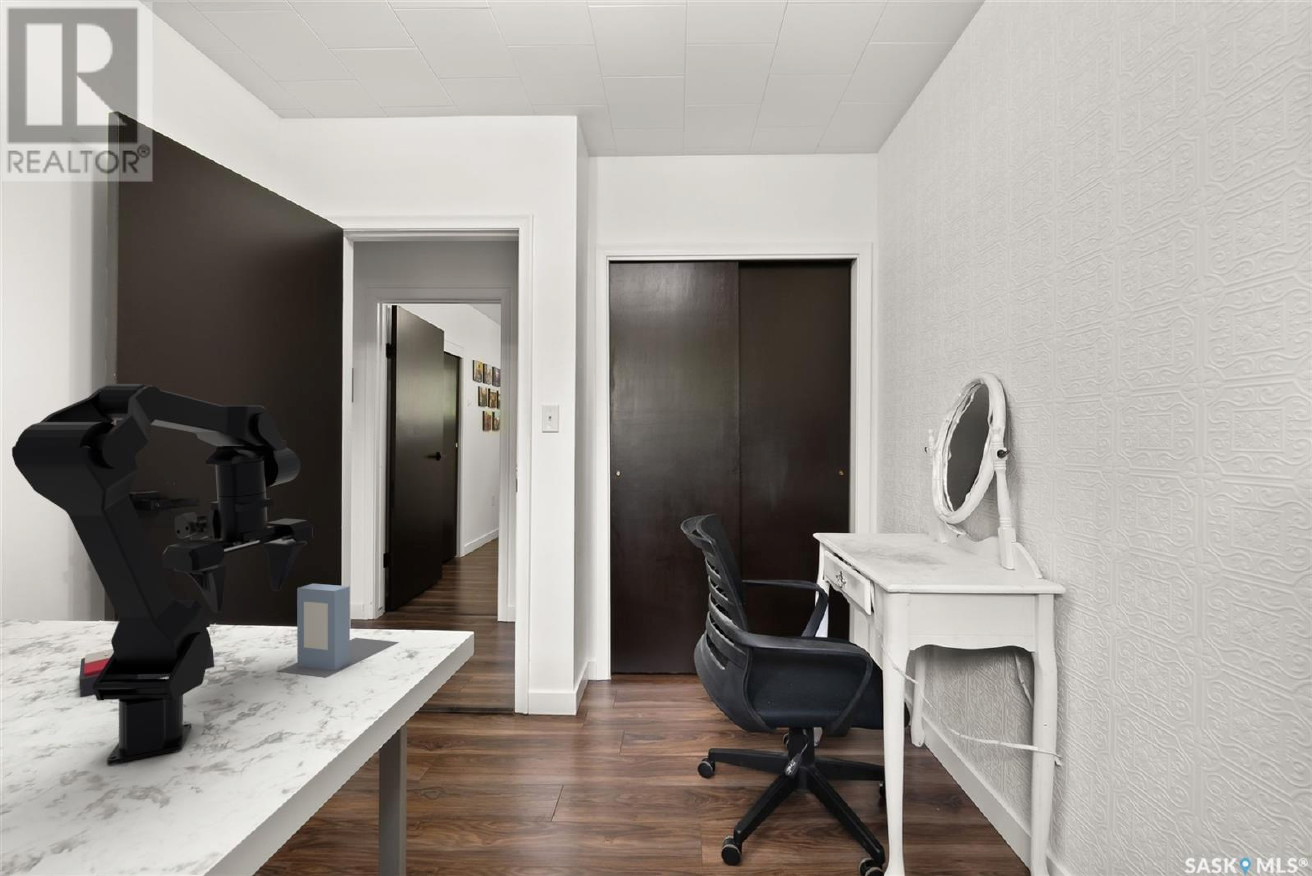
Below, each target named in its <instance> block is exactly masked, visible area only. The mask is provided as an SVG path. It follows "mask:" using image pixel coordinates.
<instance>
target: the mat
mask: <svg viewBox="0 0 1312 876" xmlns="http://www.w3.org/2000/svg"><path fill="white" fill-rule="evenodd" d="M399 643H400V642H399V641H390V640H383V639H382V640H381V639H380V640H379V639H373V638H372V639H371V638H361V637H354V638H350V664H348V665H345V666H343V667H341V668H339V669H337V670H326V669H318V668H310V667H302V666H297V662H296V663H293V664H290V665H289V666H286V667H284V668H282V669H278V670H276V671H277V673H285V674H293V675H300V676H301V675H302V676H308V677H317V678H325V679H326V678H328V677H330V676H331V677H332V676H334V675H335V674H337V673H339V672H341V671H343V670H346V669H347V668H349V667H351V666H353V665H356V664H358V663H359V662H362V661H364V660H366V659H368V658H370V657H372V656H374V655H376V654H378V653H381V652H382V651H385V650H387V649H388V648H391V647H393V646H395V645H397V644H399Z"/></svg>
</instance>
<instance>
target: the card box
mask: <svg viewBox="0 0 1312 876" xmlns="http://www.w3.org/2000/svg"><path fill="white" fill-rule="evenodd" d="M350 589H351V588H350V585H336V584H335V585H333V584H322V583H310V584H307V585H303V586H301V587H297V590H296V591H297V593H296V597H297V599H296V601H297V602H296V605H297V606H296V608H297V610H296V611H297V617H296V619H297V623H296V624H297V627H296V631H297V634H296V636H297V637H296V638H297V639H296V640H297V641H296V643H297V646H296V647H297V649H296V651H297V656H296V657H297V660H296V661H297V662H296V663H297V666H302V667H310V668H318V669H326V670H337V669H339V668H341V667H343V666H345V665H348V664H350V640H351V635H350V634H351V630H350V629H351V625H350V623H351V620H350V619H351V617H350V615H351V613H350V612H351V610H350V609H351V605H350V604H351V602H350V601H351V598H350V597H351V596H350V594H351V593H350V592H351V591H350Z"/></svg>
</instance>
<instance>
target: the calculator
mask: <svg viewBox="0 0 1312 876" xmlns="http://www.w3.org/2000/svg"><path fill="white" fill-rule="evenodd" d="M113 653H114V651H113V648H111V649H106V650H100V651H95V652H91V653H87V654H85V656H84V657H83V658H81V660H80V667H79V682H78V683H79V693H80V697H81V698H85V697H91V696H95V694H94V691H93V688H92V686H93V684H94V682H95V681H96V679H97V678H98V676H99V674H100V673H101V671H102V670H103V668H104V667H105V665H106V664H107V662H108V660H109V659H110V657H111V656H112V654H113ZM214 657H215V656H214V647H213V646H212V644H211V648H210V652H209V657H208V661H207V665H206V670H207V669H211V668H214V667H215V658H214ZM169 676H170V674H138V676H137V679H165V678H167V677H168V678H169Z"/></svg>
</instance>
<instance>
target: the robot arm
mask: <svg viewBox="0 0 1312 876" xmlns="http://www.w3.org/2000/svg"><path fill="white" fill-rule="evenodd" d="M114 421H119V422H117V424H114V423H113V422H114ZM152 426H157V427H163V428H168V429H174V430H179V431H184V432H185V431H186V432H190V433H193V434H196V437H197V438H198V439H199V440H201V441H203V442H205V443H208V444H211V446H212V445H213V446H217V447H215V450H214V451H213V452H212V454H210V455H209V456H207V458H206V459H205V461H204V464H205V465H206V466H215V480H216V493H217V494H216V495H217V497H216V498H217V501H211V502H210V505H209V509H208V510H209V513H206V514H204V515H203V514H202V515H197V513H196V512H195V511H192V512H186V513H182V514H179V515H176V516H175V517H174V531H175V533H176V534H175V535H176V537H177V538H178V539H185V538H190V540H188V541H183V542H179V543H175V544H174V543H173V544H171V545H168V546H167V547H166V549H165V550H164V551H163V553H162V555H161V556H162V568H163V569H166V568H167V569H173V570H174V571H175V572H179V573H185V574H187V575H188V576H190V577H191V578H192V579H193V581H194V582H195V583H196V585H197V586H198V588H199V589H200V591H201V593H202V595H203V596H204V599H205V601H206V602H207V604H208V607H210V609H211V612H213V613H221V611H222V607H223V604H224V598H225V597H224V596H225V595H224V594H225V585H226V577H227V576H226V575H227V564H221V562H222V561H223V559H224V558H225V555H226V554H229V553H232V552H233V553H234V552H237V551H240V550H245V549H249V548H252V547H256V546H259V545H261V546H262V547H263V549H264V550H265V552H266V553H267V556H268V569H269V581H270V587H271V590H272V592H279V591H280V590H281V588H282V587H283V584H284V582H285V579H286V577H287V575H288V573H289V571H290V569H291V567H292V566H293V563H294V562H295V560H296V558H297V557H298V555H299V553H300V551H301V549H302V548H303V547H304V546H306V545H307V540H309V539H313V537H314V536H313V533H314V532H313V525H312V523H311V522H309V521H308V519H296V518H285V517H284V518H282V519H277V520H272V521H268V513H267V511H268V509H267V508H268V507H273V506H274V498H268V497H267V492H266V488H269V487H273V486H277V485H279V484H285V483H288V482H290V481H293V480H294V479H296V478H297V476H298V475H299V473H300V471H301V465H302V464H301V461H300V459H299V457H298V455H297V454H296V452H295V451H293V450H292V449H290V448H289V447H287V446H288V445H287V440H285V439H283V438H282V436H281V434H280V432H279V429H278V428H277V426H276V424H275V422H274V421H273V419H272V416H271V415H270V414H269V413H268V410H267V409H266V408H265V407H264V406H262V405H259V404H258V405H257V404H246V405H244V404H242V405H241V404H233V405H231V404H222V405H221V404H217V403H214V402H209V401H206V400H201V399H198V398H194V397H191V396H187V395H182V394H179V393H176V392H175V393H174V392H171V391H167V390H162V389H160V388H158V387H156V386H153V385H151V384H149V383H110V384H108V385H104V386H102V387H99V388H98V389H96V390H95V391H94V392H92V394H90V395H89V396H88V397H86V398H84V399H82V400H79V401H77V402H74V403H72V404H70V405H68V406H65V407H63V408H60V409H59V410H56V411H53V412H52V413H50V414H48V415H47V416H46V417H44V418H43V419H42V420H41V421H39V422H37V423H33V424H32V423H31V425H29V426H28V427H26V428H25V429H24V430H23V431H22V432H21V433H20V435H19V436H18V439H17V441H16V443H15V444H14V446H12V448H11V456H12V459H13V462H14V465H15V467H16V468H17V470H18V471H19V472H20V473H21V475H22V476H23V478H24V479H25V480H26V482H27V483H28V484H29V486H30V487H31V488H32V490H33V491H35V492H36V493H37V494H38V495H40V496H41V497H43V498H45V499H47V500H48V501H49V502H50V503H53V504H54V505H56V506H57V507H59V508H60V509H62V510H63V511H64V512H66V514H67V515H68V517H69V519H70V521H71V523H72V525H73V528H74V530H75V531H76V533H77V535H78V537H79V539H80V541H81V543H82V545H83V547H84V550H85V552H86V554H87V555H88V558H89V559H90V562H91V564H92V566H93V568H94V570H95V572H96V574H97V577H98V578H99V580H100V582H101V585H102V587H103V588H104V591H105V592H106V595H107V597H108V599H109V601H110V603H111V605H112V607H113V609H114V611H115V613H116V616H117V618H118V622H117V625H116V628H115V629H114V632H113V635H112V637H111V640H110V643H111V647H112V649H113V651H114V653H113V654H112V656H111V657H110V659H109V660H108V662H107V664H106V665H105V667H104V668H103V670H102V671H101V673H100V674H99V676H98V678H97V679H96V681H95V682H94V684H93V686H92V688H93V691H94V694H95V695H94V696H95V699H96V701H99V702H100V701H101V702H102V701H103V702H104V701H107V700H109V701H112V700H113V701H115V700H118V742H117V744H116V746H115V748H113V750H112V752H111V753H110V754H109V756H108V757H107V761H106V762H107V764H108V765H113V764H116V763H117V764H118V763H122V762H128V761H132V760H137V759H142V758H148V757H153V756H158V755H163V754H168V753H169V754H170V753H174V752H178V751H181V750H182V749H183V748H184V745H185V743H186V742H187V738H188V737H189V734H190V732H191V730H192V723H185V724H184V695H185V694H187V693H188V692H190V691H192V690H194V689H195V688H197V687H199V686H200V685H202V684H203V683H204V678H205V674H206V670H207V669H206V665H207V661H208V657H209V652H210V648H211V645H212V640H211V636H210V633H209V630H208V628H210V627H211V624H210V622H209V621H207V619H206V617H205V616H204V610H203V606H202V605H201V604H200V602H198V600H176V599H175V598H174V597H173V594H172V593H171V590H170V588H169V586H168V583H167V581H166V578H165V576H164V574H163V572H162V569H161V567H160V564H159V562H158V560H157V557H156V555H155V552H154V551H153V547H152V546H151V543H150V541H149V538H148V537H147V534H146V532H145V530H144V526H143V525H142V523H141V520H140V518H139V515H138V512H137V511H136V509H135V507H134V504H133V501H132V499H131V497H130V492H131V489H132V486H133V484H134V481H135V478H136V476H137V473H138V465H137V460H136V455H137V454H138V453H139V452H140V451H142V449H143V448H144V447H145V446H146V445H147V444H148V443H150V440H151V430H152V429H151V427H152ZM208 540H209V541H208ZM210 540H218V541H210ZM138 674H170V676H169V677H168V678H159V679H137V676H138Z"/></svg>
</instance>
